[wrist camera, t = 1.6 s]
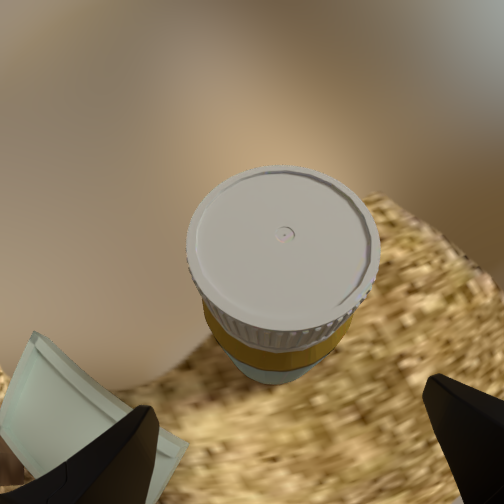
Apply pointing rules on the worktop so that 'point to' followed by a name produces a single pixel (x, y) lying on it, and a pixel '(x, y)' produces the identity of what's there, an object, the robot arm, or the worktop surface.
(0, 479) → the walnut block
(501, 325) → the worktop surface
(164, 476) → the tray
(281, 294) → the bottle
